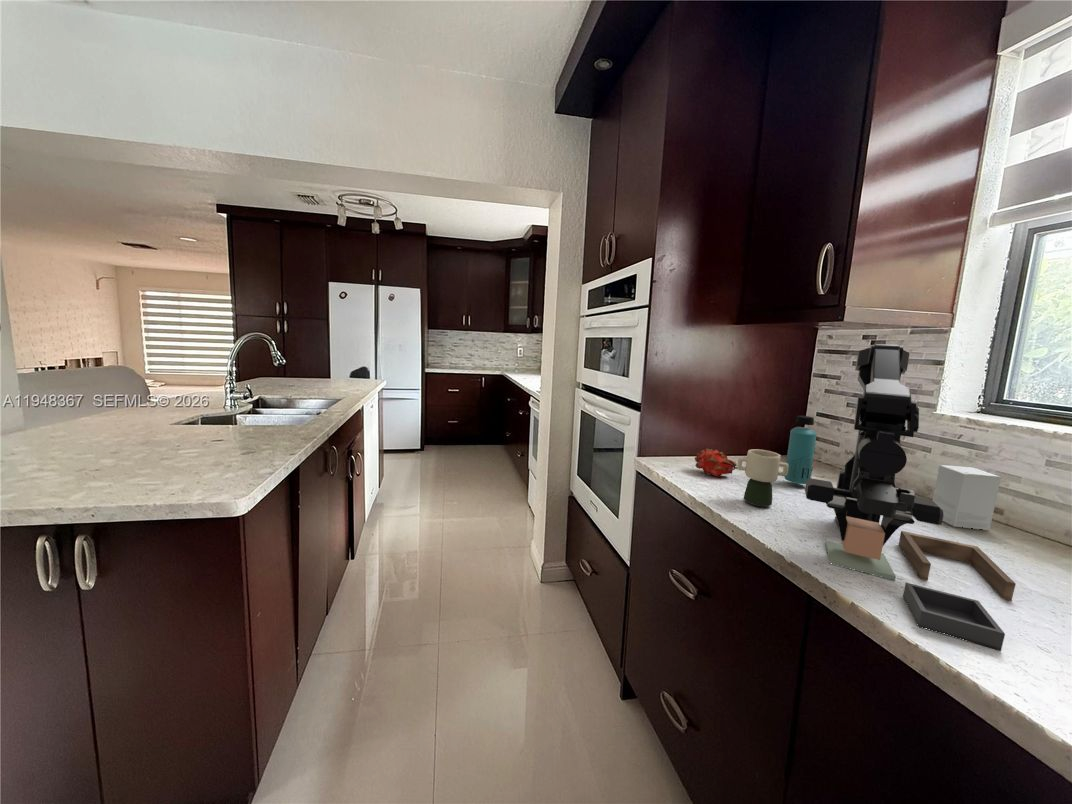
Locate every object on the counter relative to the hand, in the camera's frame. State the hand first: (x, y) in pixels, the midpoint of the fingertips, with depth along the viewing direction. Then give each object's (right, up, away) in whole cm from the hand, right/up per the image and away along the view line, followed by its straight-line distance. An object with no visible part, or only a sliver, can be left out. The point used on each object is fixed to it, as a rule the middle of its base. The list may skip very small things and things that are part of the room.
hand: (860, 543), depth 75 cm
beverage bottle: (+14, +2, +41) cm, 44 cm away
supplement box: (+39, -2, +20) cm, 44 cm away
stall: (+15, -4, -1) cm, 16 cm away
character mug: (-5, +1, +26) cm, 26 cm away
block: (0, -1, 0) cm, 1 cm away
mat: (0, -3, 0) cm, 3 cm away
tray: (0, -6, -16) cm, 17 cm away
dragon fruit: (-6, +4, +47) cm, 48 cm away
